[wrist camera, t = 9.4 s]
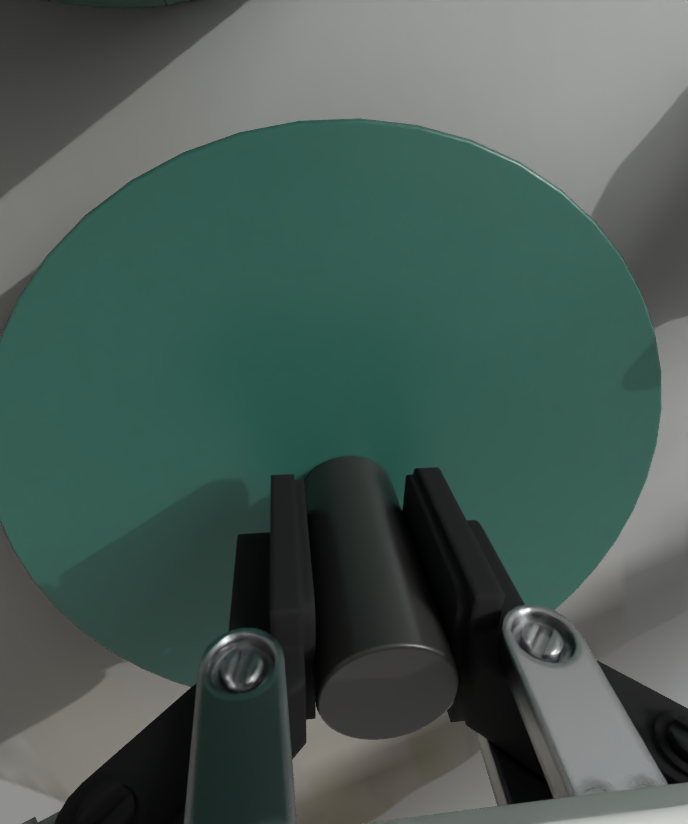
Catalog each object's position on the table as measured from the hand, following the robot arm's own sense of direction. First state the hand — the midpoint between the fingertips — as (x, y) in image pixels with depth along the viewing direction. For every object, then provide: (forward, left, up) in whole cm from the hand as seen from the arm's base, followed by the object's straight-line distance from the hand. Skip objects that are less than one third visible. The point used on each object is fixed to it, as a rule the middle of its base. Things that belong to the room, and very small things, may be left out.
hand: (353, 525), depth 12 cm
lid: (0, 0, -2) cm, 2 cm away
